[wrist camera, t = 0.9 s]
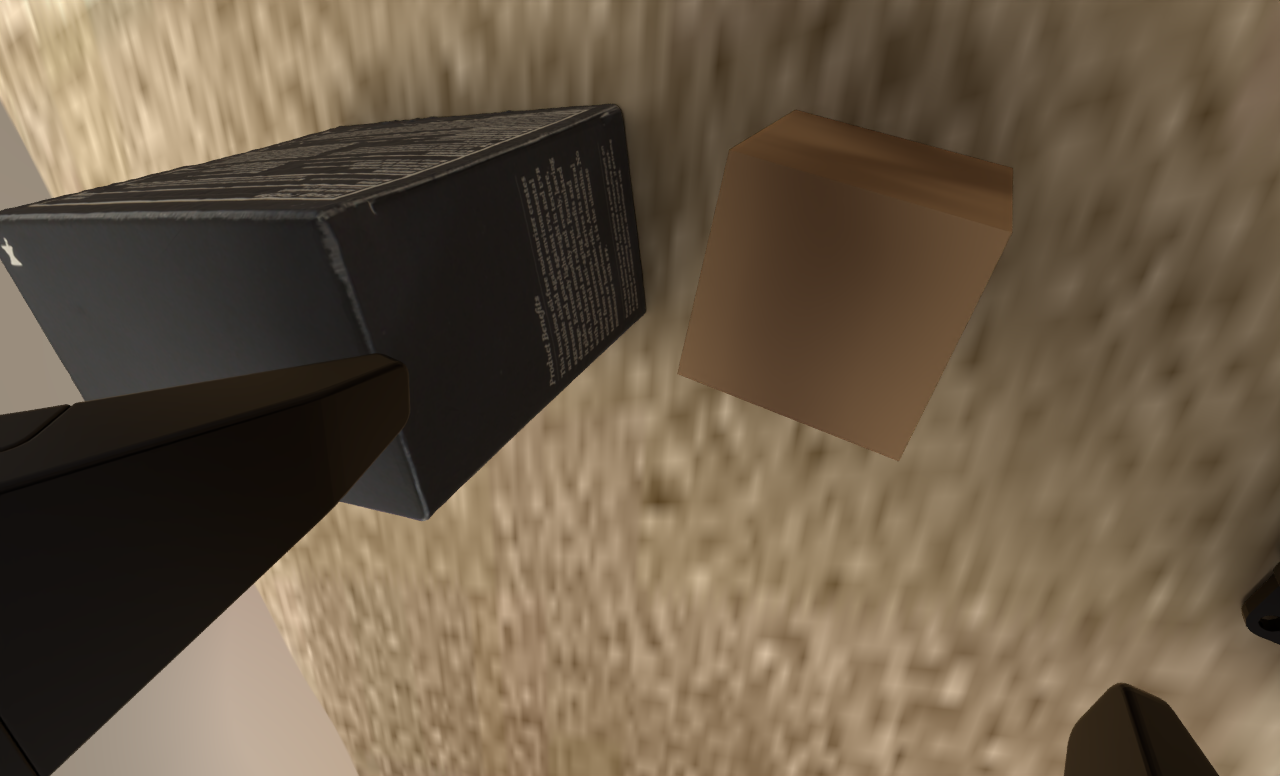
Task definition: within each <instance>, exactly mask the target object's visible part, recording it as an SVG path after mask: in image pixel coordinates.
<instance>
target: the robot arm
mask: <svg viewBox="0 0 1280 776" xmlns="http://www.w3.org/2000/svg"><path fill="white" fill-rule="evenodd" d="M409 414H410V392H409V372H408V369H407V367H406V365H405V364H404V363H402V362H401V361H398V360H396V359H394V358H392V357H389V356H387V355H385V354H381V353H374V354H368V355H362V356H356V357H350V358H344V359H338V360H332V361H326V362H320V363H314V364H308V365H302V366H296V367H290V368H284V369H277V370H271V371H265V372H259V373H253V374H247V375H241V376H235V377H229V378H223V379H217V380H211V381H205V382H199V383H193V384H187V385H181V386H175V387H169V388H163V389H157V390H151V391H145V392H139V393H132V394H126V395H120V396H114V397H108V398H102V399H96V400H90V401H84V402H78V403H75V404H73V405H72V406H70V405H67V404H65V405H60V406H53V407H47V408H42V409H35V410H29V411H23V412H16V413H10V414H3V415H0V776H50V775H51V774H52V773H53V772H55V771H56V769H57V768H59V767H60V766H61V765H62V764H63V763H64V762H65V761H66V760H67V759H68V758H69V757H70V756H71V755H72V754H74V753H75V752H76V751H77V750H78V748H80V747H81V746H82V745H83V744H84V743H85V742H86V741H87V740H88V739H90V738H91V737H92V735H94V734H95V733H96V732H97V731H98V730H99V729H100V728H101V727H102V726H103V725H104V724H105V723H106V722H108V721H109V720H110V719H111V718H112V717H113V716H114V715H115V714H116V713H117V712H118V711H119V710H120V709H121V708H122V707H123V706H124V705H126V704H127V703H128V702H129V701H130V700H131V699H132V698H133V697H134V696H135V695H136V694H137V693H138V692H139V691H140V690H141V689H142V688H143V687H145V686H146V685H147V684H148V683H149V682H150V681H151V680H152V679H153V678H154V677H155V676H156V675H157V674H158V673H159V672H161V670H163V669H164V668H165V667H166V666H167V665H168V664H169V663H170V662H171V661H172V660H173V659H174V658H175V657H176V656H177V655H179V654H180V653H181V652H182V651H183V650H184V649H185V648H186V647H187V646H188V645H189V644H190V643H191V642H192V641H193V640H194V639H195V638H197V637H198V636H199V635H200V634H201V632H203V631H204V630H205V629H206V628H207V627H208V626H209V625H210V624H211V623H212V622H213V621H214V620H215V619H217V618H218V617H219V616H220V615H221V614H222V613H223V612H224V611H225V610H226V609H227V608H228V607H229V606H230V605H232V604H233V603H234V602H235V601H236V600H237V599H238V598H239V597H240V596H241V595H242V594H243V593H244V592H245V591H246V590H247V589H248V588H250V587H251V586H252V585H253V584H254V583H255V582H256V581H257V580H258V579H259V578H260V577H261V576H262V575H263V574H264V573H265V572H266V571H268V570H269V569H270V568H271V567H272V566H273V565H274V564H275V563H276V562H277V561H278V560H279V559H280V558H281V557H282V556H283V555H284V554H286V553H287V552H288V551H289V550H290V549H291V548H292V547H293V546H294V545H295V544H296V543H297V542H298V541H299V540H300V539H301V538H303V537H304V536H305V535H306V534H307V533H308V532H309V531H310V530H311V529H312V528H313V527H314V526H315V525H316V524H317V523H318V522H319V521H321V520H322V519H323V518H324V517H325V516H326V515H327V514H328V513H329V512H330V511H331V510H332V509H333V508H334V507H335V506H336V505H337V503H338V502H339V501H340V500H341V499H342V498H343V497H344V496H345V495H346V494H347V493H348V491H349V490H350V489H351V488H352V487H353V486H354V484H355V483H356V482H357V481H358V480H359V479H360V478H361V476H362V475H363V474H364V473H365V472H366V471H367V469H368V468H369V467H370V466H371V465H372V464H373V463H374V461H375V460H376V459H377V458H378V457H379V456H380V454H381V453H382V452H383V451H384V450H385V449H386V448H387V446H388V445H389V444H390V443H391V442H392V441H393V439H394V438H395V437H396V436H397V435H398V434H399V433H400V431H401V430H402V429H403V428H404V426H405V424H406V423H407V421H408V418H409ZM1273 571H1274V575H1273V576H1272V577H1271V578H1270V579H1269V580H1268V581H1267V582H1265V583H1264V584H1263V585H1262V586H1261V587H1260V588H1259V589H1258V590H1257V591H1256V592H1255V593H1254V594H1253V595H1252V596H1251V597H1250V598H1249V599H1248V600H1247V601H1246V602H1245V603H1244V605H1243V606H1242V608H1241V609H1242V616H1243V618H1244V621H1245V624H1246V626H1247V627H1248V629H1249V630H1250V631H1251V632H1252V633H1254V634H1256V635H1258V636H1260V637H1262V638H1265V639H1267V640H1269V641H1272V642H1274V643H1277V644H1279V645H1280V562H1279V563H1278V564H1277V565H1276V566H1275V568H1274V570H1273ZM1270 615H1273V616H1278V618H1276V619H1270V620H1266V619H1262V617H1264V616H1270ZM1064 776H1219V775H1218V773H1217V772H1216V771H1215V769H1214V768H1213V766H1212V765H1211V763H1210V762H1209V761H1208V759H1207V758H1206V756H1205V755H1204V754H1203V752H1202V751H1201V749H1200V748H1199V746H1198V745H1197V744H1196V742H1195V741H1194V739H1193V738H1192V736H1191V735H1190V734H1189V732H1188V731H1187V729H1186V728H1185V726H1184V725H1183V724H1182V722H1181V721H1180V719H1179V718H1178V717H1177V715H1176V714H1175V712H1174V711H1173V710H1172V708H1171V707H1170V706H1169V705H1168V704H1167V703H1166V702H1165V701H1163V700H1162V699H1160V698H1159V697H1156V696H1154V695H1152V694H1150V693H1147V692H1145V691H1143V690H1141V689H1138V688H1136V687H1134V686H1132V685H1129V684H1126V683H1117V684H1115V685H1113V686H1111V687H1110V688H1109V689H1108V690H1107V691H1106V692H1105V693H1104V694H1103V695H1102V696H1101V697H1100V698H1099V699H1098V700H1097V701H1096V702H1095V704H1094V705H1093V706H1092V707H1091V708H1090V709H1089V710H1088V711H1087V712H1086V713H1085V714H1084V715H1083V716H1082V717H1081V718H1080V719H1079V720H1078V722H1077V723H1076V724H1075V726H1074V727H1073V729H1072V732H1071V734H1070V737H1069V741H1068V746H1067V754H1066V762H1065V770H1064Z"/></svg>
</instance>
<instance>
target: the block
mask: <svg viewBox="0 0 1280 776" xmlns="http://www.w3.org/2000/svg"><path fill="white" fill-rule="evenodd" d="M1012 215H1013V168H1011V167H1007V166H1003V165H999V164H996V163H992V162H988V161H984V160H981V159H977V158H973V157H970V156H966V155H962V154H958V153H955V152H951V151H947V150H943V149H940V148H936V147H932V146H929V145H925V144H921V143H917V142H914V141H910V140H906V139H902V138H899V137H895V136H891V135H888V134H884V133H880V132H876V131H873V130H869V129H865V128H861V127H858V126H854V125H850V124H847V123H843V122H839V121H835V120H832V119H828V118H824V117H820V116H817V115H813V114H809V113H806V112H802V111H798V110H794V111H793V112H791V113H789V114H788V115H786V116H784V117H783V118H781V119H779V120H778V121H776V122H774V123H773V124H771V125H769V126H768V127H766V128H765V129H763V130H761V131H760V132H758V133H756V134H755V135H753V136H751V137H750V138H748V139H746V140H745V141H743V142H741V143H740V144H738V145H736V146H735V147H733V148H731V149H730V150H729V153H728V157H727V162H726V166H725V170H724V175H723V179H722V183H721V188H720V192H719V196H718V200H717V205H716V209H715V213H714V218H713V222H712V226H711V231H710V235H709V239H708V244H707V248H706V252H705V257H704V261H703V265H702V270H701V274H700V278H699V282H698V287H697V291H696V295H695V300H694V304H693V308H692V313H691V317H690V321H689V326H688V330H687V334H686V339H685V343H684V347H683V351H682V356H681V360H680V364H679V369H678V373H677V374H679V375H682V376H684V377H687V378H689V379H692V380H694V381H697V382H699V383H702V384H704V385H707V386H709V387H712V388H714V389H717V390H720V391H722V392H725V393H727V394H730V395H732V396H735V397H737V398H740V399H742V400H745V401H747V402H750V403H752V404H755V405H758V406H760V407H763V408H765V409H768V410H770V411H773V412H775V413H778V414H780V415H783V416H785V417H788V418H790V419H793V420H796V421H798V422H801V423H803V424H806V425H808V426H811V427H813V428H816V429H818V430H821V431H823V432H826V433H828V434H831V435H834V436H836V437H839V438H841V439H844V440H846V441H849V442H851V443H854V444H856V445H859V446H861V447H864V448H866V449H869V450H872V451H874V452H877V453H879V454H882V455H884V456H887V457H889V458H892V459H894V460H897V461H899V460H900V458H901V456H902V454H903V452H904V450H905V448H906V446H907V444H908V442H909V440H910V438H911V436H912V434H913V432H914V430H915V428H916V426H917V424H918V422H919V420H920V418H921V416H922V414H923V412H924V410H925V408H926V406H927V404H928V402H929V400H930V398H931V396H932V394H933V392H934V390H935V388H936V385H937V383H938V381H939V379H940V377H941V375H942V373H943V371H944V369H945V367H946V365H947V363H948V361H949V359H950V357H951V355H952V353H953V351H954V349H955V347H956V345H957V343H958V341H959V339H960V337H961V335H962V333H963V331H964V329H965V327H966V325H967V323H968V321H969V319H970V317H971V315H972V313H973V311H974V309H975V307H976V305H977V303H978V301H979V299H980V297H981V295H982V293H983V291H984V289H985V287H986V285H987V283H988V281H989V279H990V277H991V275H992V273H993V271H994V269H995V267H996V265H997V263H998V261H999V259H1000V257H1001V255H1002V252H1003V250H1004V248H1005V246H1006V244H1007V242H1008V240H1009V238H1010V236H1011V234H1012Z"/></svg>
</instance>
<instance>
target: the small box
mask: <svg viewBox="0 0 1280 776" xmlns="http://www.w3.org/2000/svg"><path fill="white" fill-rule="evenodd" d="M0 259H1V261H2V263H3V264H4V266H5V268H6V269H7V271H8V272H9V274H10V276H11V277H12V279H13V281H14V282H15V284H16V286H17V287H18V289H19V291H20V293H21V294H22V296H23V298H24V299H25V301H26V303H27V304H28V306H29V308H30V309H31V311H32V313H33V315H34V316H35V318H36V320H37V321H38V323H39V325H40V327H41V328H42V330H43V332H44V333H45V335H46V337H47V338H48V340H49V342H50V344H51V345H52V347H53V349H54V350H55V352H56V354H57V355H58V357H59V358H60V360H61V362H62V363H63V365H64V367H65V368H66V370H67V371H68V373H69V374H70V376H71V379H72V381H73V382H74V384H75V385H76V387H77V388H78V390H79V392H80V394H81V395H82V397H83V399H84V401H90V400H96V399H102V398H108V397H114V396H120V395H126V394H132V393H139V392H145V391H151V390H157V389H163V388H169V387H175V386H181V385H187V384H193V383H199V382H205V381H211V380H217V379H223V378H229V377H235V376H241V375H247V374H253V373H259V372H265V371H271V370H277V369H284V368H290V367H296V366H302V365H308V364H314V363H320V362H326V361H332V360H338V359H344V358H350V357H356V356H362V355H368V354H374V353H381V354H385V355H387V356H389V357H392V358H394V359H396V360H398V361H401V362H402V363H404V364H405V365H406V367H407V369H408V372H409V392H410V414H409V418H408V421H407V423H406V424H405V426H404V428H403V429H402V430H401V431H400V433H399V434H398V435H397V436H396V437H395V438H394V439H393V441H392V442H391V443H390V444H389V445H388V446H387V448H386V449H385V450H384V451H383V452H382V453H381V454H380V456H379V457H378V458H377V459H376V460H375V461H374V463H373V464H372V465H371V466H370V467H369V468H368V469H367V471H366V472H365V473H364V474H363V475H362V476H361V478H360V479H359V480H358V481H357V482H356V483H355V484H354V486H353V487H352V488H351V489H350V490H349V491H348V493H347V494H346V495H345V496H344V497H343V498H342V499H341V500H340V502H344V503H348V504H353V505H357V506H361V507H365V508H369V509H373V510H377V511H382V512H386V513H391V514H395V515H400V516H404V517H407V518H411V519H415V520H419V521H426V520H428V519H429V518H430V517H431V516H432V515H433V514H434V513H435V511H436V510H437V509H438V508H440V507H441V506H442V505H443V504H444V503H445V502H446V501H447V500H448V499H449V498H450V497H451V496H452V495H453V494H454V493H455V492H456V491H457V490H458V489H459V488H460V487H461V486H462V485H463V484H464V483H466V482H467V481H468V480H469V479H470V478H471V477H472V476H473V475H474V474H475V473H476V472H477V471H479V470H480V469H481V468H482V467H483V466H484V465H485V464H486V463H487V462H488V461H489V460H490V459H491V458H492V457H493V456H494V455H495V454H496V453H497V452H498V451H499V450H500V449H501V448H502V447H503V446H504V445H505V444H506V443H508V442H509V441H510V440H511V439H512V438H513V437H514V436H515V435H516V434H517V433H518V432H519V431H520V430H521V429H522V428H523V427H524V426H525V425H526V424H527V423H528V422H529V421H530V420H532V419H533V418H534V417H535V416H536V415H537V414H538V413H539V412H540V411H541V410H542V409H543V408H544V407H546V406H547V405H548V404H549V403H550V402H551V401H552V400H553V399H554V398H555V397H556V396H557V395H558V394H559V393H560V392H561V391H562V390H564V389H565V388H566V387H567V386H568V385H569V384H570V383H571V382H572V381H573V380H574V379H575V378H576V377H577V376H578V375H579V374H581V373H582V372H583V371H584V370H585V369H586V368H587V367H588V366H589V365H590V364H591V363H592V362H593V361H594V360H595V359H596V358H597V357H598V356H599V355H601V354H602V353H603V352H604V351H605V350H606V349H607V348H608V347H609V346H610V345H612V344H613V343H614V342H615V341H616V340H617V339H618V338H619V337H620V336H621V335H622V334H624V333H625V332H626V331H627V329H629V328H630V327H631V326H632V325H633V324H634V323H635V322H636V321H637V320H639V319H640V318H641V317H642V316H643V315H644V314H645V311H646V309H645V297H644V288H643V279H642V269H641V262H640V255H639V246H638V237H637V228H636V219H635V212H634V205H633V197H632V188H631V181H630V172H629V165H628V155H627V148H626V140H625V132H624V122H623V117H622V113H621V110H620V109H619V108H618V107H617V106H616V105H615V104H604V105H592V106H574V107H561V108H550V109H539V110H529V111H509V110H508V111H506V112H501V113H491V114H476V115H467V116H452V117H429V118H424V119H420V118H417V119H412V120H403V121H397V120H395V121H389V122H379V123H374V124H364V125H354V126H339V127H336V128H332V129H329V130H326V131H323V132H319V133H314V134H310V135H306V136H303V137H300V138H297V139H293V140H290V141H286V142H282V143H279V144H275V145H272V146H268V147H265V148H260V149H255V150H251V151H249V152H246V153H241V154H237V155H233V156H229V157H224V158H221V159H217V160H212V161H209V162H206V163H203V164H198V165H191V166H183V167H180V168H176V169H173V170H169V171H164V172H160V173H156V174H150V175H147V176H144V177H141V178H137V179H131V180H128V181H125V182H119V183H113V184H110V185H108V186H103V187H97V188H94V189H89V190H84V191H82V192H79V193H74V194H68V195H63V196H60V197H56V198H51V199H47V200H42V201H39V202H35V203H31V204H27V205H22V206H19V207H15V208H9V209H4V210H2V211H0Z"/></svg>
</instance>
